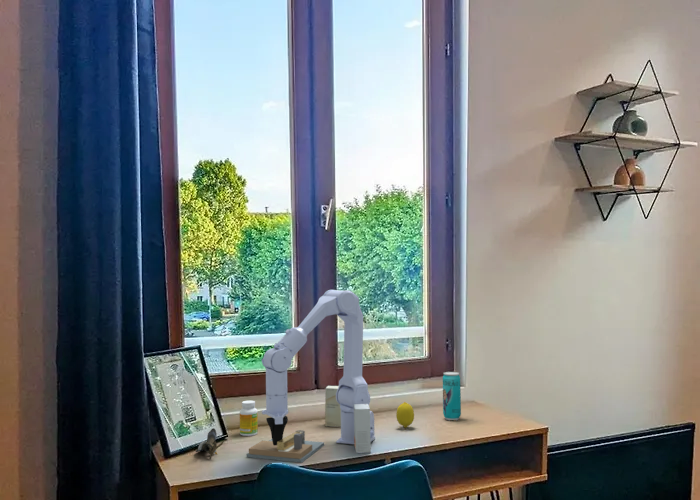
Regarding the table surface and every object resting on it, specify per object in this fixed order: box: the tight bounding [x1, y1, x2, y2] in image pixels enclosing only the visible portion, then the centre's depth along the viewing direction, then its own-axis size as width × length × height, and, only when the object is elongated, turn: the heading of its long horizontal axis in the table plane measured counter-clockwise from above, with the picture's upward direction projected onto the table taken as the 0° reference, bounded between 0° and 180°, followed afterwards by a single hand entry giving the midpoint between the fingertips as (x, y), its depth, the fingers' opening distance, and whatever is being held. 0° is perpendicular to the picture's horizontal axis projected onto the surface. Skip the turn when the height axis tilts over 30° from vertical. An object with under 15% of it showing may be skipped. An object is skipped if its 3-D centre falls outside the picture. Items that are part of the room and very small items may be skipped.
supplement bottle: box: [239, 400, 259, 437], centre depth 187 cm, size 5×5×10 cm
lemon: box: [396, 401, 415, 429], centre depth 191 cm, size 6×6×8 cm
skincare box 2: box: [353, 404, 372, 454], centre depth 169 cm, size 6×4×12 cm
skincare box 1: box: [324, 385, 341, 428], centre depth 196 cm, size 6×4×12 cm
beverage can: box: [442, 371, 462, 421], centre depth 202 cm, size 6×6×15 cm
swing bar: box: [277, 429, 306, 450], centre depth 167 cm, size 12×3×4 cm, turn 157°
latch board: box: [246, 433, 325, 463], centre depth 169 cm, size 16×16×6 cm
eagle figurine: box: [195, 427, 225, 460], centre depth 166 cm, size 8×7×9 cm
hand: (277, 444), depth 165 cm, fingers closed, pressing on swing bar
